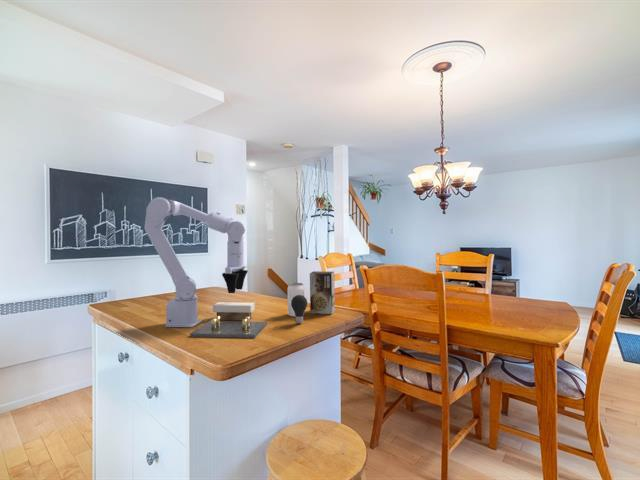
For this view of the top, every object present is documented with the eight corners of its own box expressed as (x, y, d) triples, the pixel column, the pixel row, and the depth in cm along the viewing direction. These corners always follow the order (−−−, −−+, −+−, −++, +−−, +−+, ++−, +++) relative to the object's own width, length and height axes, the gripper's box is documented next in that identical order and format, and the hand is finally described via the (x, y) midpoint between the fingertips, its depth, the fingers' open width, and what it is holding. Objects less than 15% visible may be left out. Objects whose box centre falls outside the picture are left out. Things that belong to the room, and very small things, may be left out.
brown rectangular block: (216, 319, 111) (216, 311, 111) (219, 317, 114) (219, 309, 114) (248, 320, 110) (248, 311, 110) (251, 317, 113) (251, 309, 113)
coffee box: (335, 310, 124) (335, 271, 124) (332, 314, 118) (332, 273, 118) (313, 309, 126) (313, 270, 126) (309, 313, 120) (309, 272, 120)
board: (212, 312, 110) (212, 305, 110) (218, 308, 115) (218, 302, 115) (250, 312, 109) (250, 305, 109) (254, 309, 114) (254, 302, 114)
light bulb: (292, 326, 102) (292, 296, 102) (290, 321, 108) (290, 293, 108) (308, 325, 103) (308, 296, 103) (306, 321, 109) (305, 293, 109)
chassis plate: (190, 336, 92) (190, 323, 92) (210, 323, 106) (210, 312, 106) (255, 338, 90) (255, 324, 90) (266, 324, 104) (266, 313, 104)
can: (301, 317, 114) (301, 285, 114) (285, 316, 115) (285, 284, 115) (306, 313, 120) (305, 282, 120) (290, 312, 121) (290, 282, 121)
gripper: (239, 255, 104) (239, 294, 104) (252, 253, 118) (252, 288, 118) (219, 255, 104) (219, 294, 105) (234, 253, 119) (234, 287, 119)
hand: (235, 291), depth 112 cm, fingers open, 7 cm apart
